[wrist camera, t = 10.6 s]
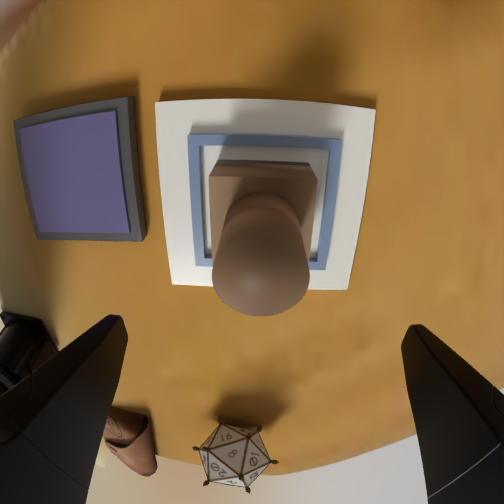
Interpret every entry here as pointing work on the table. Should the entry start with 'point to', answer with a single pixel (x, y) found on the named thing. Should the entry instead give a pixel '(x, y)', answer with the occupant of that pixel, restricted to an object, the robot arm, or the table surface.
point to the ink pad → (83, 172)
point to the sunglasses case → (131, 440)
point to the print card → (268, 149)
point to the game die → (234, 456)
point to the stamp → (261, 233)
